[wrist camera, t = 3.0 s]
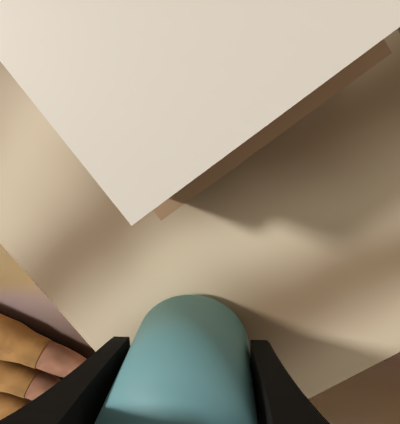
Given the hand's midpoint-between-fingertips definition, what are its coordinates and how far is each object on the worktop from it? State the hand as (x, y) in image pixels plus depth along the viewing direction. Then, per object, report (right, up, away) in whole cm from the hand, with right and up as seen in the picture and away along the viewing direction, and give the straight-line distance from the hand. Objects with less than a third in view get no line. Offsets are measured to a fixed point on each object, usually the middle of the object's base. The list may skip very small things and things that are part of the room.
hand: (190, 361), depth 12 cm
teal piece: (0, 0, +1) cm, 1 cm away
